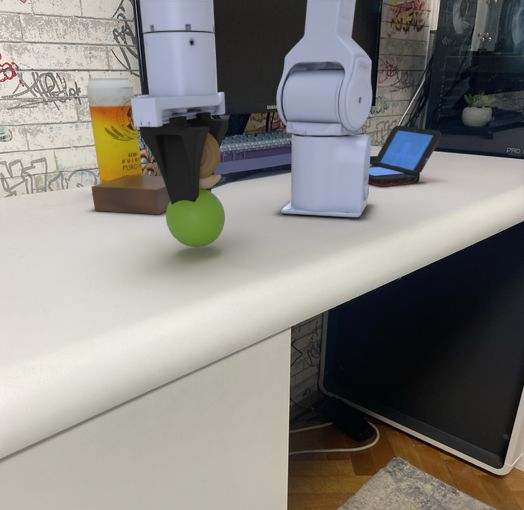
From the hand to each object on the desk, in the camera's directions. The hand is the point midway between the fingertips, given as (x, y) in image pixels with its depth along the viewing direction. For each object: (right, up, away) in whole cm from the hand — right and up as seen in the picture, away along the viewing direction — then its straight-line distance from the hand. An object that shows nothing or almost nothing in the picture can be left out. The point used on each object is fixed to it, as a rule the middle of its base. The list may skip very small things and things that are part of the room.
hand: (191, 205), depth 49 cm
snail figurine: (0, -4, +2) cm, 4 cm away
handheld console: (+27, +14, +38) cm, 48 cm away
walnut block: (-9, +6, +21) cm, 24 cm away
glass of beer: (-14, +10, +29) cm, 34 cm away
